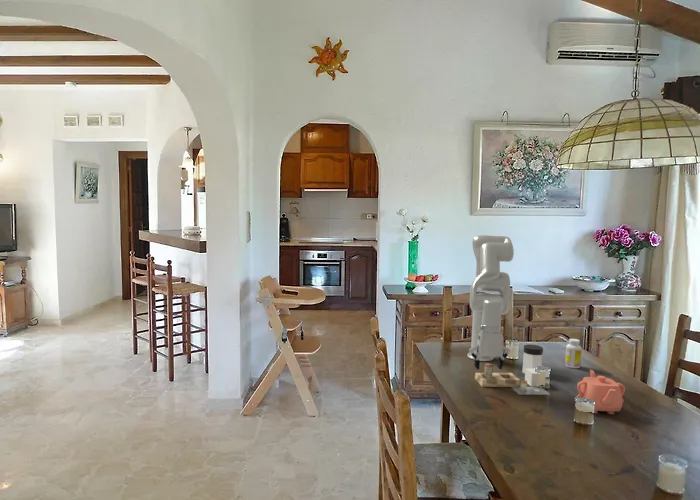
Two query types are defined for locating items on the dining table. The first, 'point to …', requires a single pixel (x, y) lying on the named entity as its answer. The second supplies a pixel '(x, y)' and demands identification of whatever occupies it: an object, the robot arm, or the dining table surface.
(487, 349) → the robot arm
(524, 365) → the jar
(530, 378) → the white cube
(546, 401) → the dining table surface
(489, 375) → the peg
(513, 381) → the peg board
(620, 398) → the teapot
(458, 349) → the dining table surface
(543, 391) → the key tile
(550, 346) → the dining table surface
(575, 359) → the supplement bottle
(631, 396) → the dining table surface
